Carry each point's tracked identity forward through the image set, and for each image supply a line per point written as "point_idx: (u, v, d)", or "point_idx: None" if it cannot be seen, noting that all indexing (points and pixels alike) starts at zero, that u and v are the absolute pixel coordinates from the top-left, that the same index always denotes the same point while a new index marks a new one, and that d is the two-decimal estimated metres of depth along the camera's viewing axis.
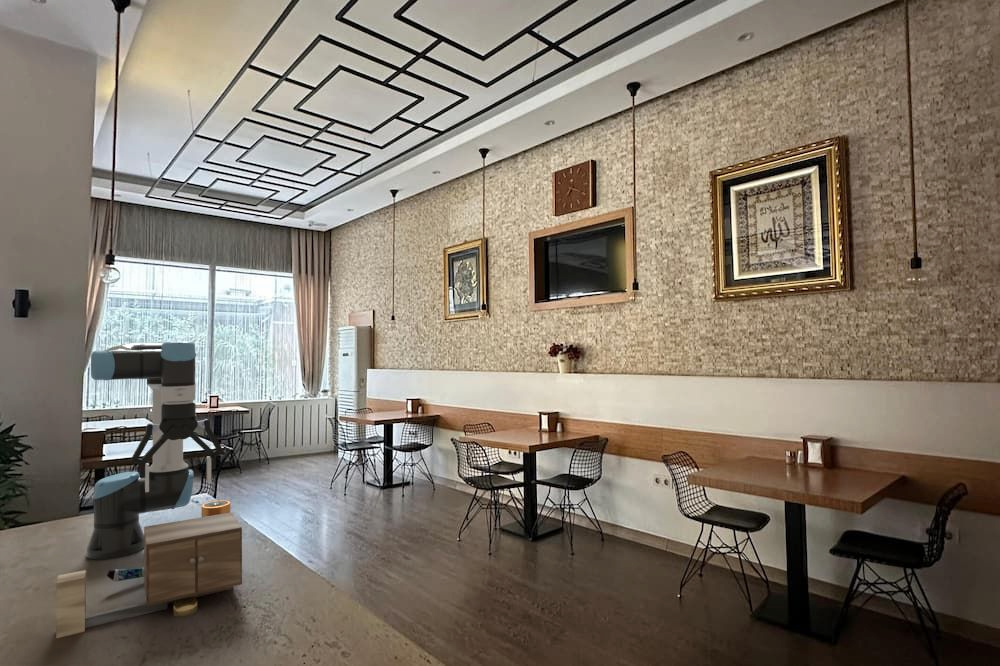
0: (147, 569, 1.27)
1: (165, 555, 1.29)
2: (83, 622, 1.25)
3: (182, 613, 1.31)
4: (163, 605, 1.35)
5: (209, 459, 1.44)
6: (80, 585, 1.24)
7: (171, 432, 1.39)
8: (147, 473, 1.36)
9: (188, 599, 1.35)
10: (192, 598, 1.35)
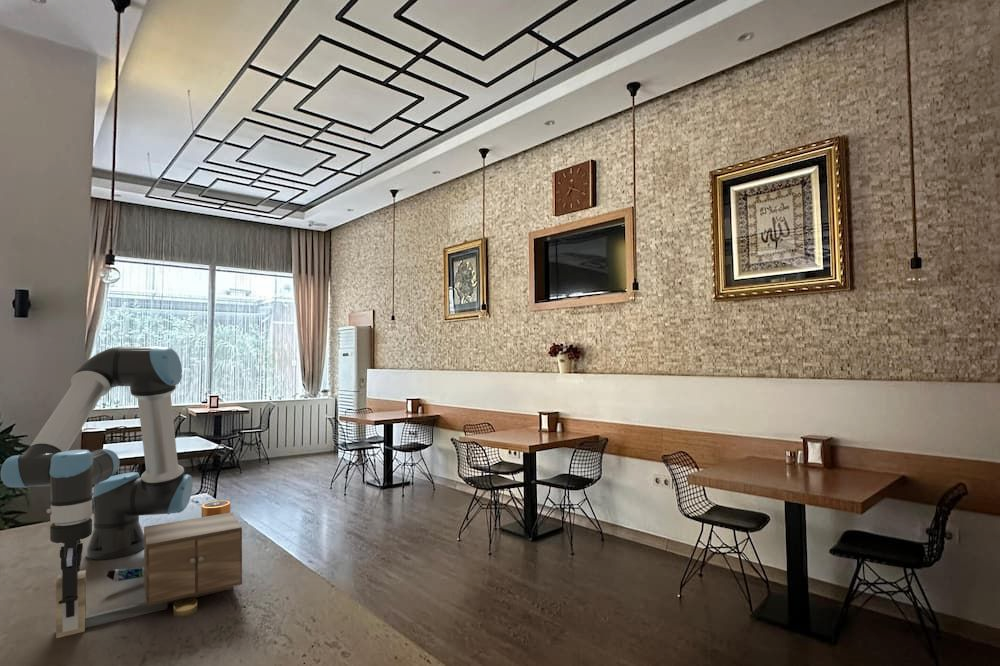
0: (147, 569, 1.27)
1: (165, 555, 1.29)
2: (83, 622, 1.25)
3: (182, 613, 1.31)
4: (163, 605, 1.35)
5: None
6: (80, 585, 1.24)
7: None
8: None
9: (188, 599, 1.35)
10: (192, 598, 1.35)
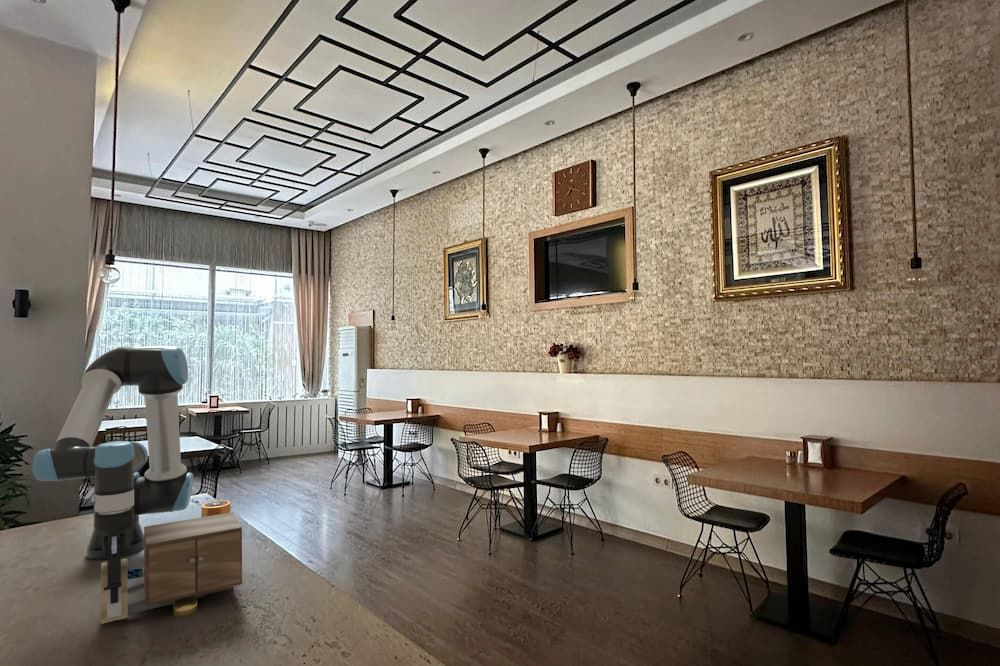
0: (147, 569, 1.27)
1: (165, 555, 1.29)
2: (126, 608, 1.28)
3: (182, 613, 1.31)
4: None
5: (107, 589, 1.26)
6: (123, 572, 1.28)
7: None
8: None
9: (188, 599, 1.35)
10: (192, 598, 1.35)
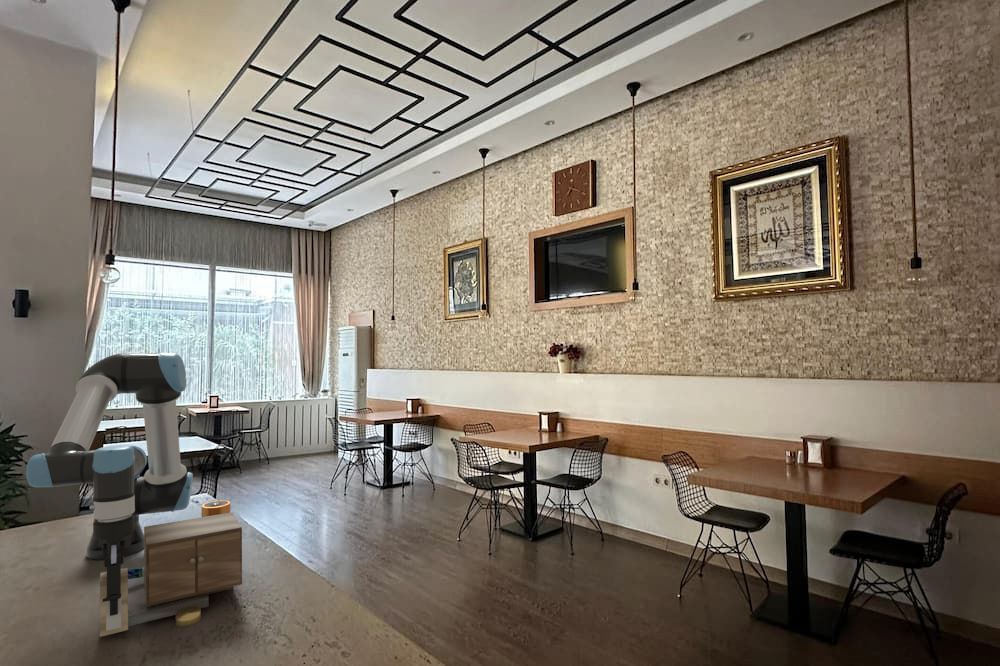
0: (147, 569, 1.27)
1: (165, 555, 1.29)
2: (126, 620, 1.22)
3: (185, 623, 1.26)
4: (204, 603, 1.33)
5: (106, 601, 1.20)
6: (123, 582, 1.22)
7: None
8: None
9: (191, 608, 1.30)
10: (195, 607, 1.30)
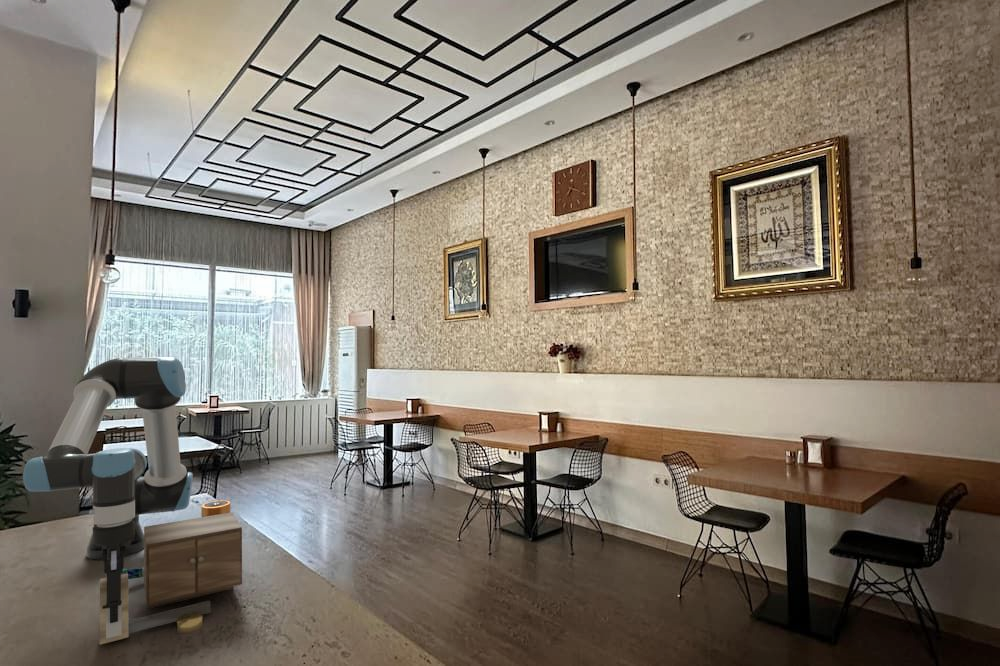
0: (147, 569, 1.27)
1: (165, 555, 1.29)
2: (127, 627, 1.20)
3: (186, 630, 1.23)
4: (206, 609, 1.30)
5: (106, 608, 1.17)
6: (123, 589, 1.19)
7: None
8: None
9: (193, 614, 1.27)
10: (197, 613, 1.28)
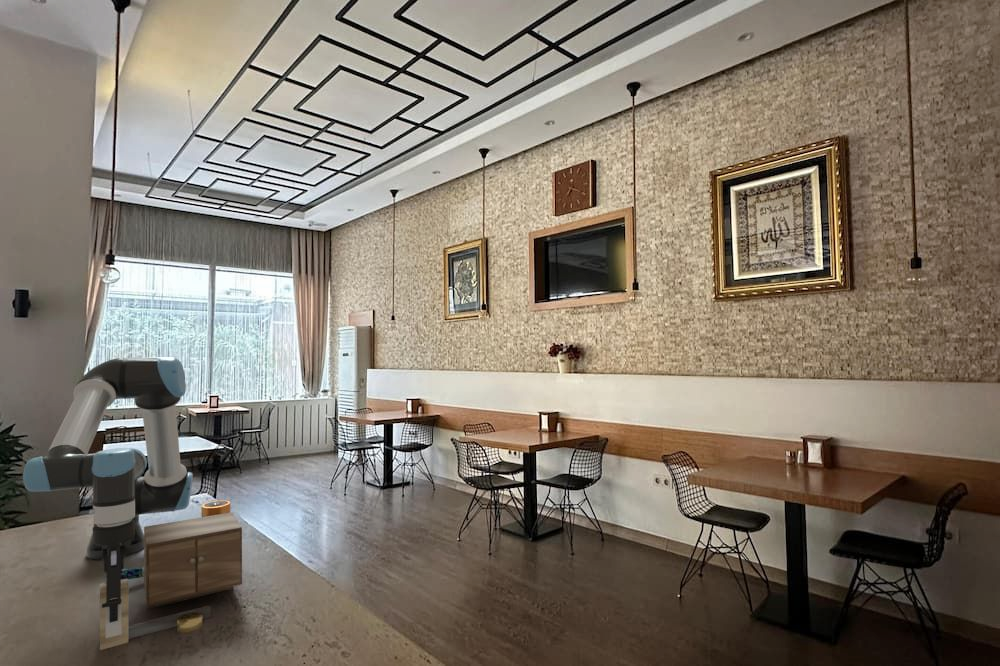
0: (147, 569, 1.27)
1: (165, 555, 1.29)
2: (127, 633, 1.20)
3: (186, 630, 1.23)
4: (206, 614, 1.30)
5: None
6: (123, 594, 1.19)
7: None
8: None
9: (193, 614, 1.27)
10: (197, 613, 1.28)
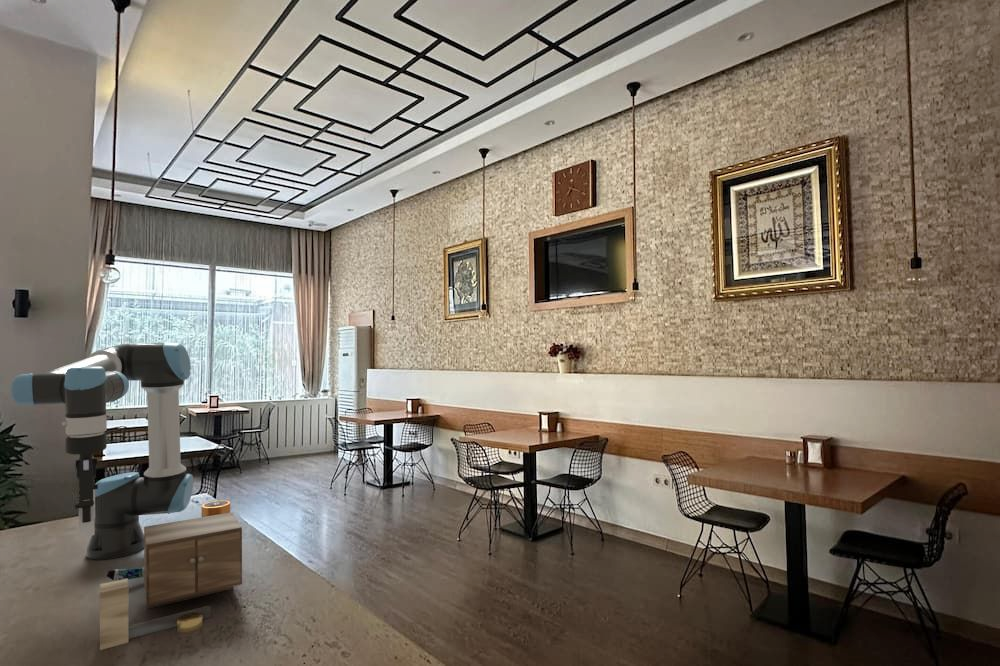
0: (147, 569, 1.27)
1: (165, 555, 1.29)
2: (127, 633, 1.20)
3: (186, 630, 1.23)
4: (206, 614, 1.30)
5: None
6: (123, 594, 1.19)
7: None
8: None
9: (193, 614, 1.27)
10: (197, 613, 1.28)
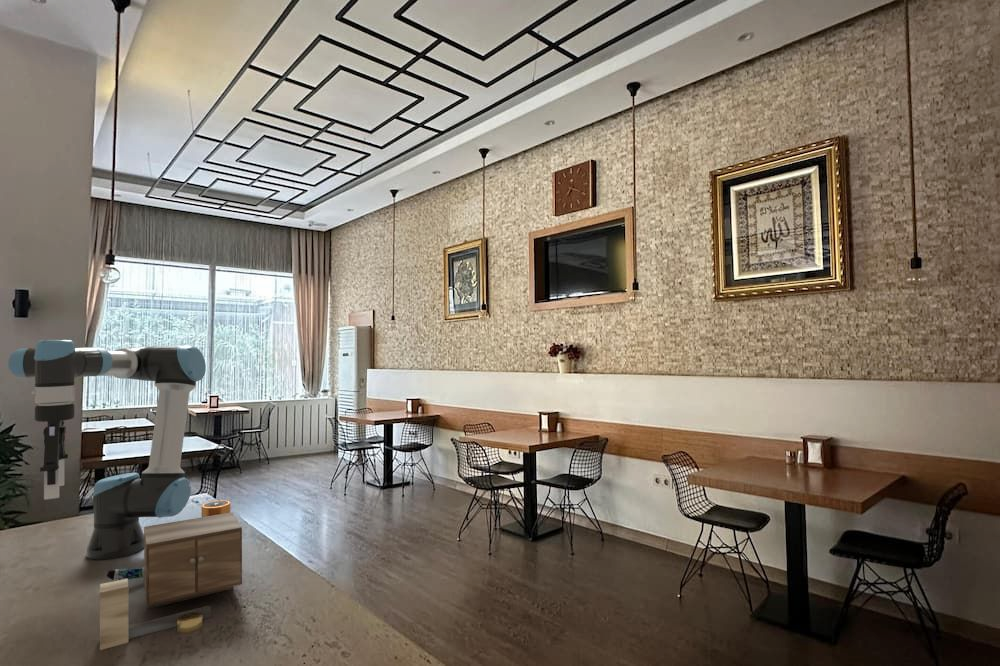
0: (147, 569, 1.27)
1: (165, 555, 1.29)
2: (127, 633, 1.20)
3: (186, 630, 1.23)
4: (206, 614, 1.30)
5: None
6: (123, 594, 1.19)
7: None
8: None
9: (193, 614, 1.27)
10: (197, 613, 1.28)
